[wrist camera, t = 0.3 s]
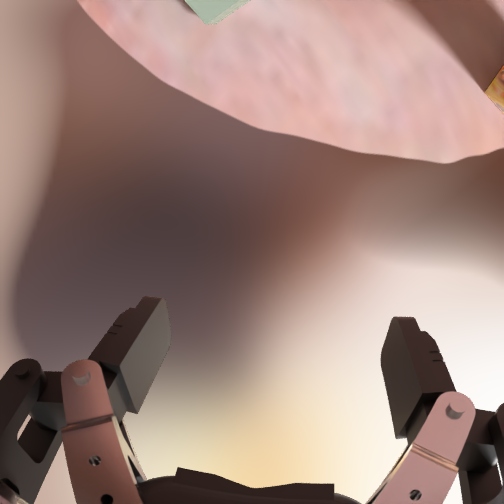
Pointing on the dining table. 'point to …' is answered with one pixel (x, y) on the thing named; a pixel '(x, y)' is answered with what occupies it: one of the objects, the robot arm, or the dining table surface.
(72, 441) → the robot arm
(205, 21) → the square frame
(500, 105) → the candy box
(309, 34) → the dining table surface
